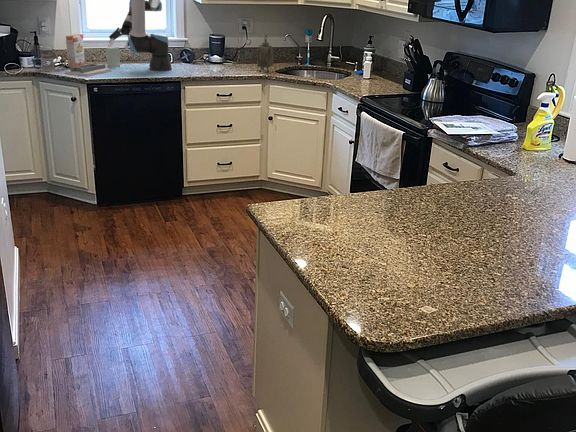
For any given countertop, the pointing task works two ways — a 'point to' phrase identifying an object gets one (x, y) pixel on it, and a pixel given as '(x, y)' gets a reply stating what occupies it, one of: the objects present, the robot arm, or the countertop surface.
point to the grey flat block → (88, 69)
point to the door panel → (113, 57)
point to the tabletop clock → (265, 55)
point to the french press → (44, 58)
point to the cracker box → (75, 50)
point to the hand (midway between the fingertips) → (117, 48)
